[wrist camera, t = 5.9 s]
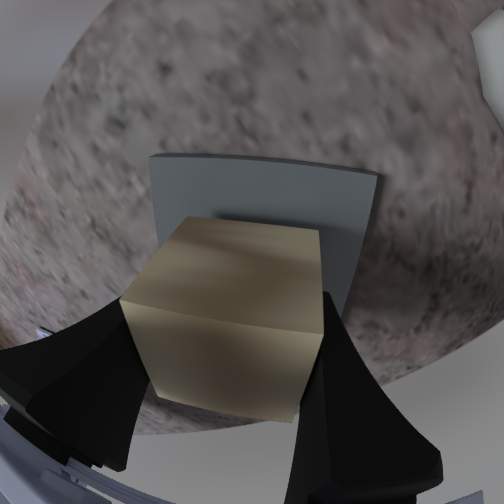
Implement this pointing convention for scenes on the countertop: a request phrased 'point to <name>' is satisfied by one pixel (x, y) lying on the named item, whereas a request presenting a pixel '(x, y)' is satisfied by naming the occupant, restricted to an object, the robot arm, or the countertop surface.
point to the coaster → (270, 202)
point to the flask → (491, 61)
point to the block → (230, 316)
